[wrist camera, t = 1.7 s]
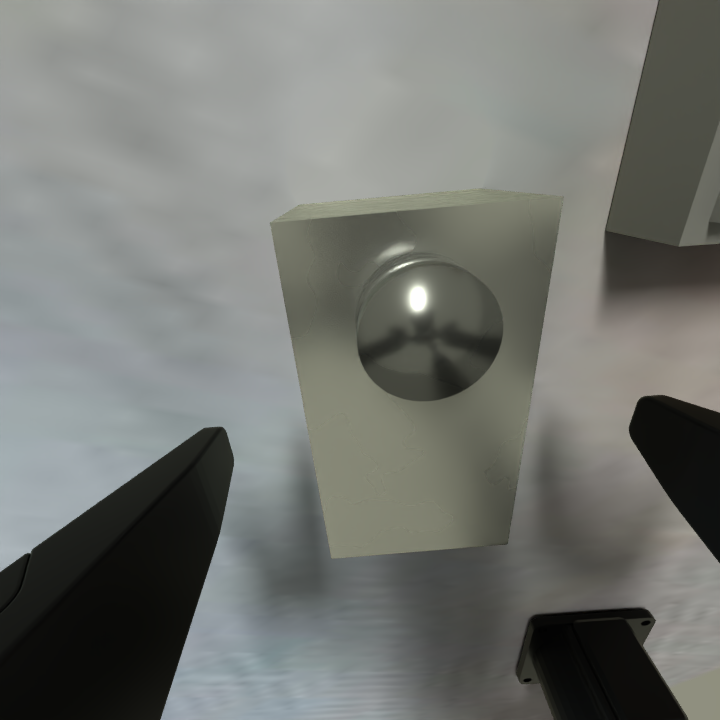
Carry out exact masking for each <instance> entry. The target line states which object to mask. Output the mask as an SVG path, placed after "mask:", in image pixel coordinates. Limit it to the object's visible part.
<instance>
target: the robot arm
mask: <svg viewBox="0 0 720 720" xmlns="http://www.w3.org/2000/svg"><path fill="white" fill-rule="evenodd" d="M629 434H630V437H631V439H632V440H633V442H634V444H635V445H636V447H637V448H638V450H639V451H640V453H641V455H642V456H643V458H644V459H645V461H646V462H647V464H648V465H649V467H650V469H651V470H652V472H653V473H654V475H655V476H656V478H657V479H658V481H659V483H660V484H661V486H662V487H663V489H664V490H665V492H666V493H667V495H668V496H669V498H670V499H671V501H672V502H673V503H674V505H675V506H676V507H677V509H678V510H679V512H680V513H681V514H682V515H683V517H684V518H685V519H686V521H687V522H688V523H689V524H690V526H691V527H692V528H693V530H694V531H695V532H696V533H697V535H698V536H699V537H700V539H701V540H702V541H703V542H704V544H705V545H706V546H707V548H708V549H709V550H710V551H711V553H712V554H713V555H714V557H715V558H716V559H717V560H718V562H719V563H720V413H719V412H716V411H713V410H709V409H706V408H703V407H700V406H697V405H694V404H691V403H688V402H684V401H681V400H678V399H675V398H672V397H669V396H665V395H653V396H644V397H641V398H640V399H639V400H638V402H637V405H636V408H635V411H634V414H633V416H632V419H631V422H630V425H629ZM233 467H234V457H233V453H232V449H231V446H230V443H229V439H228V436H227V433H226V430H225V429H224V428H223V427H209V428H203V429H202V430H200V431H199V432H197V433H196V434H195V435H193V436H192V437H190V438H189V439H188V440H186V441H185V442H183V443H182V444H180V445H179V446H178V447H176V448H175V449H173V450H172V451H171V452H169V453H168V454H166V455H165V456H164V457H162V458H161V459H159V460H158V461H156V462H155V463H154V464H152V465H151V466H149V467H148V468H147V469H145V470H144V471H142V472H141V473H139V474H138V475H137V476H135V477H134V478H132V479H131V480H130V481H128V482H127V483H125V484H124V485H123V486H121V487H120V488H118V489H117V490H115V491H114V492H113V493H111V494H110V495H108V496H107V497H106V498H104V499H103V500H101V501H100V502H98V503H97V504H96V505H94V506H93V507H91V508H90V509H89V510H87V511H86V512H84V513H83V514H82V515H80V516H79V517H77V518H76V519H74V520H73V521H72V522H70V523H69V524H67V525H66V526H65V527H63V528H62V529H60V530H59V531H57V532H56V533H55V534H53V535H52V536H50V537H49V538H48V539H46V540H45V541H43V542H42V543H41V544H39V545H38V546H36V547H35V548H34V549H32V551H31V554H30V553H27V554H25V555H23V556H22V557H21V558H19V559H18V560H16V561H15V562H14V563H12V564H11V565H9V566H8V567H7V568H5V569H4V570H2V571H1V572H0V720H160V719H161V716H162V713H163V710H164V707H165V704H166V700H167V697H168V694H169V691H170V688H171V685H172V682H173V679H174V675H175V672H176V669H177V666H178V663H179V660H180V657H181V654H182V650H183V647H184V644H185V641H186V638H187V635H188V632H189V629H190V625H191V622H192V619H193V616H194V613H195V610H196V607H197V604H198V601H199V597H200V594H201V591H202V588H203V585H204V582H205V579H206V576H207V572H208V569H209V566H210V563H211V560H212V557H213V554H214V551H215V547H216V544H217V541H218V537H219V534H220V530H221V526H222V521H223V516H224V511H225V506H226V501H227V497H228V492H229V487H230V482H231V477H232V472H233ZM655 621H656V620H655V619H654V617H653V616H652V614H651V613H650V612H649V611H648V610H631V611H617V612H603V613H589V614H575V615H560V616H546V617H537V618H535V619H533V620H531V622H530V624H529V628H528V632H527V635H526V639H525V643H524V647H523V650H522V654H521V658H520V661H519V665H518V669H517V672H516V673H517V677H518V680H519V682H520V683H521V684H536V683H540V684H541V687H542V690H543V692H544V695H545V698H546V700H547V703H548V706H549V708H550V711H551V713H552V716H553V719H554V720H688V717H687V716H686V714H685V712H684V711H683V709H682V708H681V706H680V704H679V703H678V701H677V700H676V698H675V696H674V695H673V693H672V692H671V690H670V688H669V687H668V685H667V684H666V682H665V680H664V679H663V677H662V676H661V674H660V673H659V671H658V669H657V668H656V666H655V665H654V663H653V661H652V660H651V658H650V657H649V655H648V653H647V652H646V650H645V649H644V647H643V644H644V642H645V640H646V638H647V636H648V635H649V633H650V631H651V629H652V627H653V626H654V624H655Z"/></svg>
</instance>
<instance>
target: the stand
mask: <svg viewBox="0 0 720 720" xmlns="http://www.w3.org/2000/svg"><path fill="white" fill-rule="evenodd" d="M606 231H609V232H613V233H618V234H623V235H627V236H632V237H637V238H641V239H646V240H650V241H655V242H660V243H664V244H669V245H674V246H678V247H679V246H693V245H707V244H720V0H660V1H659V5H658V10H657V14H656V18H655V22H654V27H653V31H652V35H651V40H650V44H649V48H648V52H647V57H646V61H645V65H644V69H643V74H642V78H641V82H640V87H639V91H638V95H637V99H636V104H635V108H634V112H633V116H632V121H631V125H630V129H629V133H628V138H627V142H626V146H625V151H624V155H623V159H622V163H621V168H620V172H619V176H618V180H617V185H616V189H615V193H614V198H613V202H612V206H611V210H610V215H609V219H608V223H607V227H606Z"/></svg>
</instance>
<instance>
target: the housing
mask: <svg viewBox="0 0 720 720" xmlns="http://www.w3.org/2000/svg"><path fill="white" fill-rule="evenodd" d="M563 198H564V196H554V195H544V194H533V193H523V192H512V191H502V190H491V189H481V188H479V189H468V190H457V191H446V192H435V193H424V194H412V195H401V196H390V197H379V198H368V199H357V200H346V201H334V202H323V203H312V204H301V205H298V206H297V207H295V208H293V209H292V210H290V211H288V212H287V213H285V214H283V215H282V216H280V217H279V218H277V219H275V220H274V221H272V222H270V225H271V231H272V236H273V242H274V247H275V252H276V258H277V263H278V269H279V274H280V280H281V285H282V291H283V296H284V302H285V307H286V313H287V318H288V324H289V329H290V335H291V340H292V346H293V351H294V357H295V362H296V368H297V373H298V378H299V384H300V389H301V395H302V400H303V406H304V411H305V417H306V422H307V428H308V433H309V439H310V444H311V450H312V455H313V461H314V466H315V472H316V477H317V483H318V488H319V494H320V499H321V504H322V510H323V515H324V521H325V526H326V532H327V537H328V543H329V548H330V554H331V559H335V558H347V557H359V556H371V555H383V554H395V553H408V552H420V551H432V550H444V549H456V548H468V547H481V546H493V545H505V544H508V538H509V532H510V526H511V519H512V513H513V507H514V501H515V495H516V488H517V482H518V476H519V470H520V464H521V458H522V451H523V445H524V439H525V433H526V427H527V420H528V414H529V408H530V402H531V396H532V389H533V383H534V377H535V371H536V365H537V359H538V352H539V346H540V340H541V334H542V328H543V321H544V315H545V309H546V303H547V297H548V291H549V284H550V278H551V272H552V266H553V260H554V253H555V247H556V241H557V235H558V229H559V222H560V216H561V210H562V204H563Z"/></svg>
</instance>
